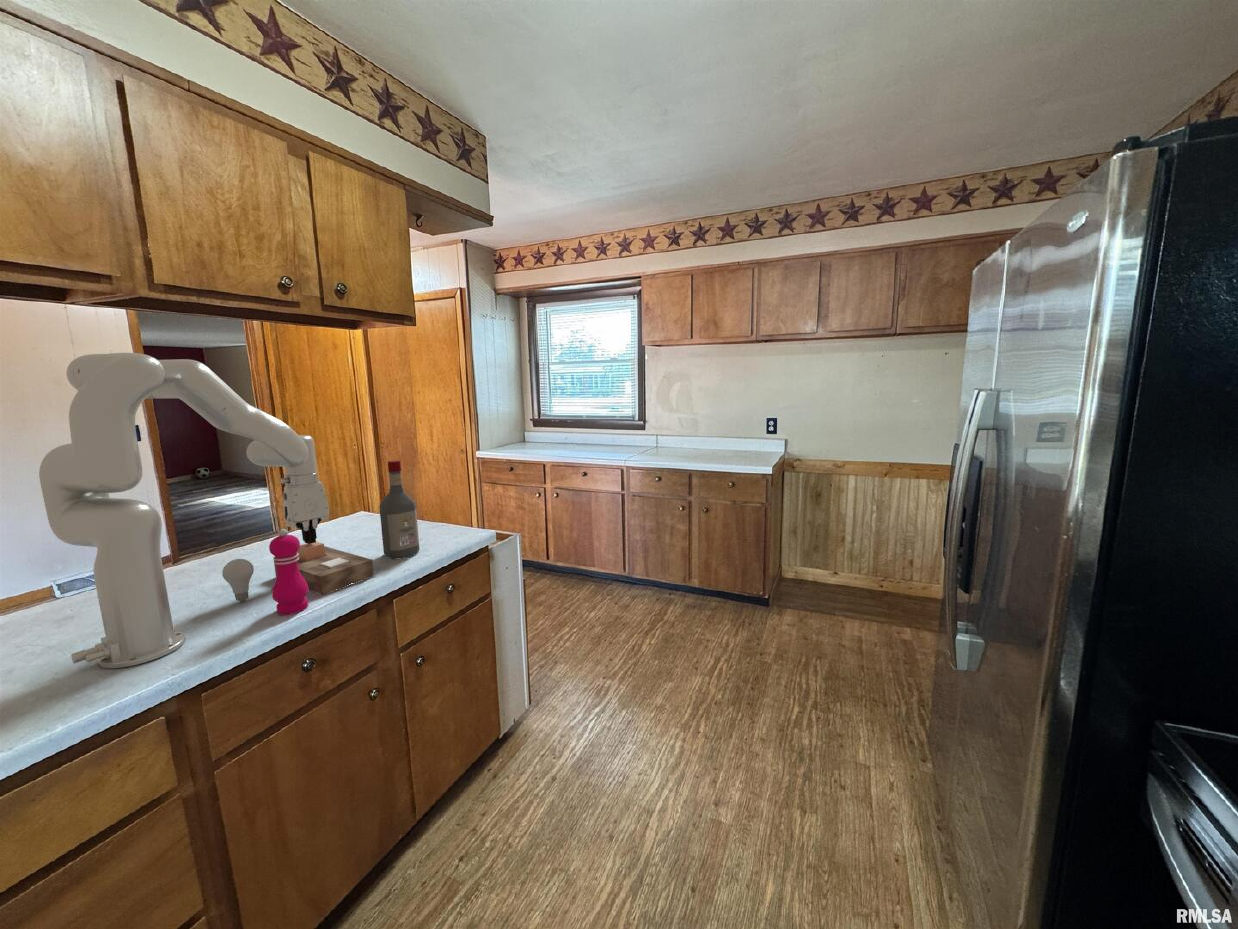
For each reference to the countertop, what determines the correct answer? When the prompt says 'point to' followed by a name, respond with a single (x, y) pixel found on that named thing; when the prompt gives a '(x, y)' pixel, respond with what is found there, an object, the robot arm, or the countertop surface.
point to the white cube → (334, 563)
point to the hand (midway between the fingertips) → (310, 542)
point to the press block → (334, 571)
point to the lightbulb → (238, 577)
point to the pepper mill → (288, 575)
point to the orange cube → (311, 551)
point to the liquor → (398, 518)
